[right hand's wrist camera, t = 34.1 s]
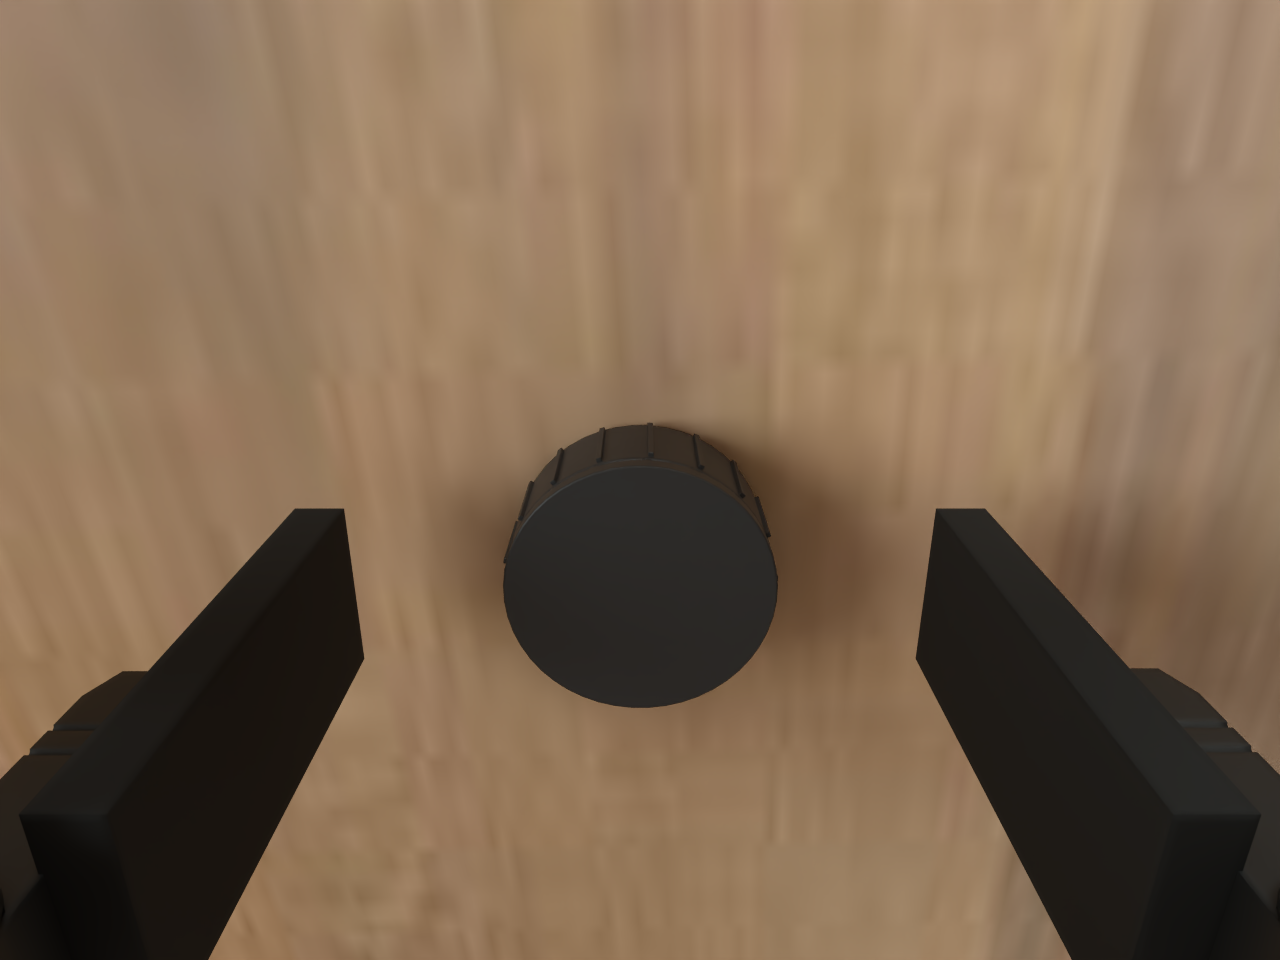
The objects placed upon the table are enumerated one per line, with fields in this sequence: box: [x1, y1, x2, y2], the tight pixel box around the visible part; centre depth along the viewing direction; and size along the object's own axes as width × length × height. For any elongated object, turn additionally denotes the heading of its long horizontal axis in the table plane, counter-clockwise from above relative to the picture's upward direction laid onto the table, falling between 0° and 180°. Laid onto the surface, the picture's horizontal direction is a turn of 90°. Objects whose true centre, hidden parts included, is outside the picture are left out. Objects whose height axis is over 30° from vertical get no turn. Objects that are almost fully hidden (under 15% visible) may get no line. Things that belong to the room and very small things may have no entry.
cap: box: [503, 423, 778, 708], centre depth 15 cm, size 4×4×2 cm
